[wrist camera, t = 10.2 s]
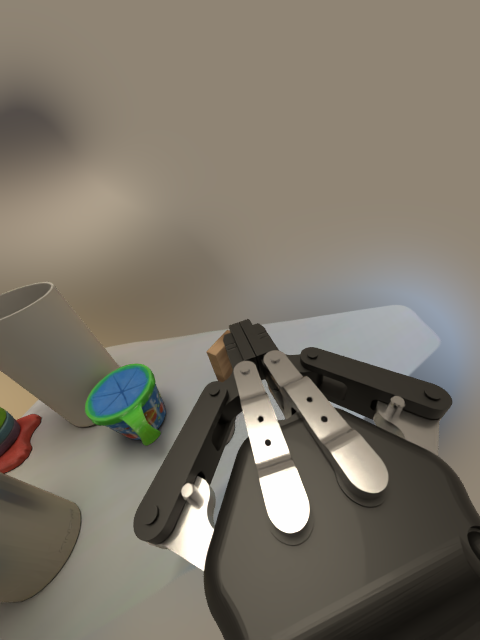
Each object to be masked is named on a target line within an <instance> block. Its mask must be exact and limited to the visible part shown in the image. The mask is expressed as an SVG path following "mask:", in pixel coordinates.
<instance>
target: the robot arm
mask: <svg viewBox="0 0 480 640" xmlns="http://www.w3.org/2000/svg"><path fill="white" fill-rule="evenodd" d="M229 329H230V333H228V334H225V335H224V338H223V342H224V346H225V349H226V352H227V355H228V358H229V361H230V363H231V366H232V369H233V370H232V374H231V375H230V377H229V378H228V379H227V380H225V381H224V382H219V381H215V382H211V383H210V384H208V385H207V386H206V387H205V388H204V390H203V392H202V394H201V395H200V397H199V399H198V401H197V403H196V404H195V406H194V408H193V410H192V412H191V413H190V415H189V417H188V419H187V421H186V422H185V424H184V426H183V428H182V430H181V431H180V433H179V435H178V437H177V439H176V440H175V442H174V444H173V446H172V448H171V449H170V451H169V453H168V455H167V457H166V458H165V460H164V462H163V464H162V466H161V467H160V469H159V471H158V473H157V475H156V476H155V478H154V480H153V482H152V484H151V485H150V487H149V489H148V491H147V493H146V494H145V496H144V498H143V500H142V502H141V503H140V505H139V507H138V509H137V511H136V514H135V517H134V532H135V534H136V536H137V537H138V538H139V539H140V540H143V541H146V542H147V543H149V544H150V545H153V546H156V547H159V548H162V549H169V550H172V551H173V552H175V553H177V554H178V555H180V556H181V557H183V558H185V559H186V560H188V561H189V562H191V563H192V564H194V565H196V566H197V567H199V568H200V569H202V570H204V589H205V595H206V599H207V603H208V607H209V609H210V612H211V614H212V616H213V618H214V620H215V621H216V623H217V625H218V627H219V629H220V631H221V633H222V635H223V637H224V639H225V640H480V516H479V514H478V513H477V511H476V509H475V508H474V506H473V504H472V503H471V500H470V498H469V496H468V494H467V492H466V489H465V487H464V485H463V484H462V482H461V480H460V478H459V477H458V476H457V474H456V473H455V472H454V471H453V470H452V468H450V466H449V465H448V464H447V463H445V462H444V461H443V460H442V459H441V458H440V457H438V442H439V421H440V419H441V418H442V417H443V416H444V414H445V413H446V412H447V411H448V409H449V408H450V406H451V405H452V399H451V397H450V395H449V394H448V393H447V392H446V391H445V390H444V389H442V388H441V387H439V386H437V385H435V384H432V383H428V382H425V381H422V380H418V379H416V378H412V377H409V376H406V375H403V374H399V373H396V372H393V371H390V370H386V369H383V368H380V367H377V366H373V365H370V364H367V363H364V362H360V361H357V360H354V359H351V358H347V357H344V356H341V355H338V354H334V353H331V352H328V351H325V350H321V349H318V348H314V347H309V348H305V349H304V350H302V352H301V354H300V355H286V354H284V353H283V352H281V351H279V350H278V348H277V347H276V345H275V344H274V342H273V341H272V339H271V338H270V336H269V334H268V333H267V332H266V330H265V328H264V327H263V326H262V325H260V324H255V325H252V323H251V322H250V320H249V319H247V320H244V321H241V322H239V323H235V324H232V325H229ZM260 378H261V379H260ZM264 379H266V381H267V383H268V388H269V390H270V392H271V394H272V395H273V397H274V399H275V400H276V402H277V404H278V405H279V407H280V409H281V410H282V412H283V414H284V416H285V419H286V420H278V421H277V418H276V415H275V413H274V410H273V407H272V405H271V402H270V399H269V397H268V394H267V393H266V392H265V389H264V387H263V384H262V381H261V380H264ZM329 401H330V402H333V403H335V404H337V405H340V406H342V407H344V408H347V409H349V410H351V411H354V412H356V413H358V414H361V415H363V416H365V417H368V418H370V419H372V420H374V422H375V424H376V426H375V425H373V424H371V423H369V422H367V421H365V420H363V419H361V418H359V417H356V416H354V415H352V414H350V413H348V412H346V411H344V410H341V409H338V408H335V407H333V406H332V405H331V403H330V402H329ZM242 411H243V414H244V418H245V422H246V426H247V430H248V434H249V437H248V438H247V439H246V440H245V441H244V442H243V444H242V445H241V447H240V449H239V451H238V453H237V456H236V459H235V463H234V466H233V469H232V472H231V475H230V479H229V482H228V485H227V488H226V492H225V495H224V498H223V501H222V505H221V508H220V511H219V514H218V518H217V521H216V524H215V525H214V520H213V513H214V508H215V503H216V498H215V493H214V491H213V489H212V488H211V487H210V484H211V481H212V478H213V476H214V473H215V471H216V468H217V466H218V463H219V460H220V458H221V455H222V453H223V450H224V448H225V445H226V443H227V440H228V437H229V435H230V432H231V430H232V427H233V425H234V422H235V419H236V416H237V415H238V414H239V413H240V412H242ZM80 523H81V514H80V511H79V508H78V506H77V505H76V504H75V503H73V502H71V501H69V500H66V499H64V498H62V497H59V496H57V495H55V494H52V493H50V492H47V491H45V490H43V489H40V488H38V487H35V486H33V485H30V484H28V483H25V482H23V481H21V480H18V479H16V478H13V477H11V476H8V475H6V474H3V473H1V472H0V602H19V601H23V600H26V599H28V598H30V597H32V596H33V595H35V594H36V593H38V592H39V591H41V590H42V589H43V588H44V587H45V586H46V585H47V584H48V583H49V582H50V581H51V580H52V579H53V578H54V577H55V575H56V574H57V573H58V572H59V570H60V569H61V568H62V566H63V565H64V563H65V562H66V560H67V558H68V557H69V555H70V553H71V551H72V549H73V547H74V545H75V542H76V540H77V537H78V533H79V530H80Z"/></svg>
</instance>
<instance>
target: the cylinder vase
mask: <svg viewBox="0 0 480 640" xmlns="http://www.w3.org/2000/svg"><path fill="white" fill-rule="evenodd" d="M118 368H120V367H119V366H118V364H117V363H116V362H115V361H114V359H113V358H112V357H111V356H110V354H109V353H108V352H107V351H106V349H105V348H104V347H103V346H102V344H101V343H100V342H99V341H98V339H97V338H96V337H95V336H94V334H93V333H92V332H91V331H90V329H89V328H88V327H87V326H86V324H85V323H84V322H83V321H82V319H81V318H80V317H79V316H78V314H77V313H76V312H75V311H74V309H73V308H72V307H71V306H70V304H69V303H68V302H67V301H66V300H65V298H64V297H63V296H62V294H61V293H60V292H59V291H58V290H57V288H56V287H55V286H54V285H53V283H51V282H41V283H35V284H31V285H27V286H24V287H20V288H17V289H14V290H11V291H9V292H6V293H3V294H1V295H0V371H2V372H3V373H4V374H6V375H7V376H9V377H10V378H11V379H13V380H14V381H15V382H17V383H18V384H19V385H20V386H22V387H23V388H24V389H26V390H27V391H29V392H30V393H31V394H33V395H34V396H35V397H37V398H38V399H39V400H41V401H42V402H43V403H45V404H46V405H47V406H49V407H50V408H51V409H53V410H54V411H55V412H57V413H58V414H59V415H61V416H62V417H63V418H65V419H66V420H67V421H69V422H70V423H71V424H73V425H75V426H79V427H87V426H91V425H94V423H92V420H90V419H89V417H88V416H87V415H86V413H85V404H86V400H87V398H88V396H89V394H90V392H91V391H92V389H93V388H94V387H95V386H96V384H97V383H98V382H99V381H101V380H102V379H103V378H104V377H105V376H107V375H108V374H109V373H111V372H112V371H114V370H116V369H118Z"/></svg>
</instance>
